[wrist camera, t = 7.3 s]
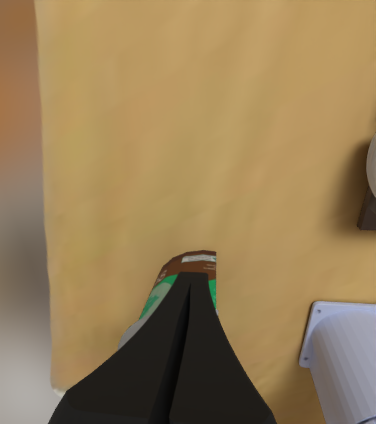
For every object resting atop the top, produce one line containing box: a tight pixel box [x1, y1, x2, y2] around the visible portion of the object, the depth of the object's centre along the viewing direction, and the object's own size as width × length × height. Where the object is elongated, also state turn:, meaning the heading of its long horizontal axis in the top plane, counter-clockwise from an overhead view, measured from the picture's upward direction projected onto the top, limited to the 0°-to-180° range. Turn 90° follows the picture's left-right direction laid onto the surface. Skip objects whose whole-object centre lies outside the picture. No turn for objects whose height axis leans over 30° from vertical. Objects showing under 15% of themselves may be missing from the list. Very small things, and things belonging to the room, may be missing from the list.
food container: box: [117, 250, 218, 351], centre depth 21 cm, size 12×6×10 cm, turn 172°
